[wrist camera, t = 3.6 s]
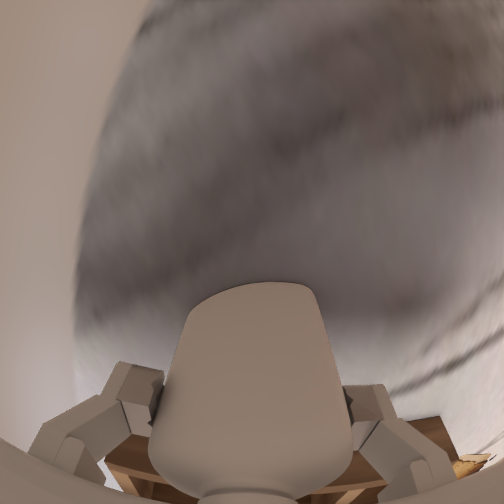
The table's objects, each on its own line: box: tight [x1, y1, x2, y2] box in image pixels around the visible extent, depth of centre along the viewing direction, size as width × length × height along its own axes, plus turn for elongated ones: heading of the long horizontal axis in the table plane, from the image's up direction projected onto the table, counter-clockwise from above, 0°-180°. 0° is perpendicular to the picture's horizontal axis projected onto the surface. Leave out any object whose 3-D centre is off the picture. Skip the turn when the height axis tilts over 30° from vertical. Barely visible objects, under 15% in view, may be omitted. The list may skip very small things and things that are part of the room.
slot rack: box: [104, 416, 459, 504], centre depth 17 cm, size 10×23×4 cm, turn 84°
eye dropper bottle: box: [148, 282, 353, 504], centre depth 8 cm, size 4×6×12 cm
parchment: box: [452, 454, 496, 480], centre depth 23 cm, size 25×10×1 cm, turn 60°
